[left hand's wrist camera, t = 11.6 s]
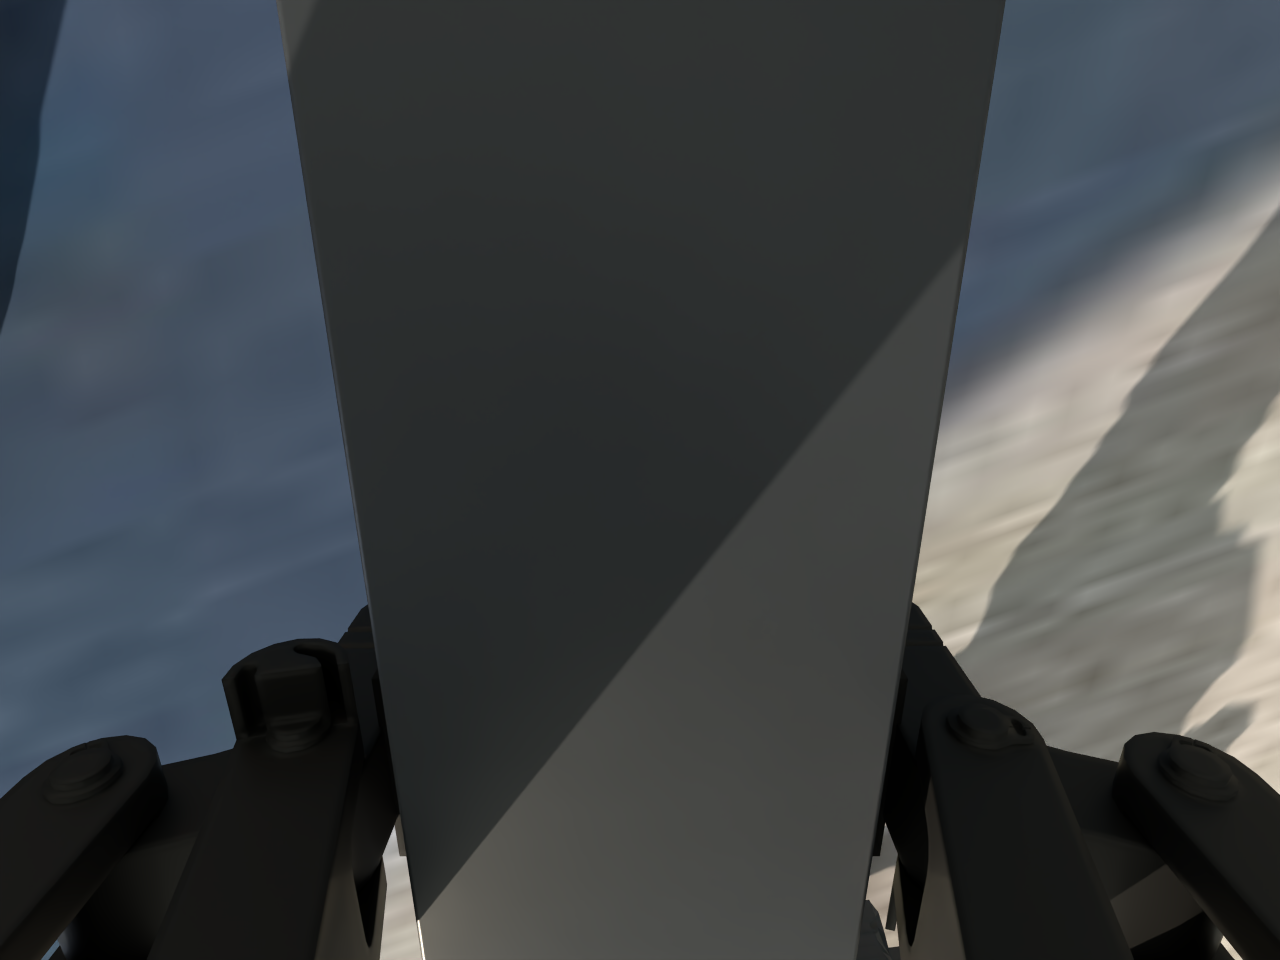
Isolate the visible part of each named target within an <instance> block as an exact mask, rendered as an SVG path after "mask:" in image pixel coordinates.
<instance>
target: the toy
mask: <svg viewBox="0 0 1280 960" xmlns="http://www.w3.org/2000/svg"><path fill="white" fill-rule="evenodd" d="M856 960H901V958H900V948H899V947H891V948H888V945H887V941H886V937H885V933H884V930H883V926H882V923H881V920H880V916H879V913H878V911H877V910H876V909H875V908H874V906H873V905H872V904H871V903H870V901H869V900H865V906H864V913H863V919H862V926H861V932H860V938H859V945H858V951H857V958H856Z"/></svg>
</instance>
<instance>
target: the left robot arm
mask: <svg viewBox="0 0 1280 960" xmlns="http://www.w3.org/2000/svg"><path fill="white" fill-rule="evenodd" d="M222 683H223V687H224V691H225V695H226V699H227V703H228V707H229V711H230V715H231V719H232V723H233V727H234V731H235V735H236V739H237V740H236V743H235V745H234V748H233V749H230V750H227V751H223V752H220V753H216V754H212V755H207V756H203V757H198V758H194V759H189V760H184V761H180V762H175V763H171V764H166V765H161V762H160V759H159V756H158V752H157V749H156V747H155V746H154V745H153V744H151V743H150V742H149V741H148V740H147V739H145V738H140V737H134V736H128V735H124V736H116V737H107V738H100V739H97V740H93V741H89V742H88V743H83V744H80V745H77V746H75V747H72V748H70V749H68V750H66V751H64V752H62V753H60V754H58V755H56V756H54V757H52V758H50V759H48V760H46V761H45V762H44V763H42V764H41V765H40V766H38V767H37V768H36V769H34V770H33V771H32V772H30V773H29V774H27V775H26V776H25V777H23V778H22V779H21V780H20V781H19V782H18V783H17V784H16V785H15V786H14V787H13V788H11V789H10V790H9V791H8V792H7V793H6V794H5V795H4V796H3V797H2V798H1V799H0V960H41V959H42V957H43V956H44V955H45V954H46V952H47V951H48V950H49V949H50V947H51V946H52V945H53V944H54V942H55V941H56V940H57V939H58V942H59V944H60V946H59V947H58V948H57V950H56V951H55V952H54V953H53V955H52V956H51V957H50V959H49V960H380V950H381V940H382V930H383V920H384V910H385V900H386V890H387V881H386V875H385V868H384V862H383V857H382V855H383V853H384V850H385V848H386V845H387V843H388V840H389V838H390V835H391V833H392V830H393V827H394V825H395V830H396V836H397V842H398V848H399V854H400V856H406V850H405V843H404V837H403V830H402V824H401V817H400V811H399V804H398V797H397V791H396V784H395V778H394V771H393V765H392V758H391V751H390V745H389V738H388V732H387V725H386V719H385V712H384V705H383V699H382V692H381V686H380V679H379V673H378V666H377V659H376V653H375V646H374V640H373V633H372V627H371V620H370V613H369V607H368V605H366V606H365V607H363V608H362V609H361V610H360V612H359V613H358V615H357V616H356V617H355V619H354V620H353V622H352V623H351V625H350V626H349V628H348V632H345V633H344V635H343V636H342V638H341V639H340V641H339V642H338V643H336V642H332V641H328V640H324V639H320V638H315V639H295V640H290V641H286V642H281V643H277V644H273V645H271V646H268V647H266V648H263V649H261V650H258V651H256V652H253V653H251V654H250V655H248V656H247V657H245V658H244V659H242V660H241V661H239V662H238V663H236V664H235V665H233V666H232V668H231V669H230V670H229V671H228V672H227V674H226V675H225V676H224V677H223V679H222ZM885 823H886V825H887V828H888V830H889V833H890V835H891V838H892V840H893V843H894V845H895V848H896V850H897V853H898V857H897V862H896V868H895V874H894V880H893V886H892V891H891V897H890V903H889V909H888V915H887V921H886V928H885V929H888V930H893V931H895V927H896V922H897V928H898V938H899V948H900V958H901V960H1235V959H1234V958H1233V957H1232V956H1231V955H1230V954H1229V952H1228V951H1227V950H1226V949H1225V947H1224V946H1223V945H1222V944H1221V940H1222V938H1223V935H1224V937H1225V938H1226V939H1227V940H1228V942H1229V943H1230V944H1231V945H1232V947H1233V948H1234V949H1235V950H1236V952H1237V953H1238V954H1239V955H1240V957H1241V958H1242V959H1243V960H1280V795H1279V794H1278V793H1277V792H1276V791H1275V790H1274V789H1273V788H1272V787H1271V786H1270V785H1268V784H1267V783H1266V782H1265V781H1264V780H1263V779H1262V778H1261V777H1260V776H1259V775H1258V774H1256V773H1255V772H1254V771H1252V770H1251V769H1249V768H1248V767H1247V766H1245V765H1244V764H1243V763H1241V762H1240V761H1239V760H1237V759H1236V758H1235V757H1233V756H1231V755H1229V754H1227V753H1225V752H1223V751H1221V750H1219V749H1217V748H1215V747H1212V746H1211V745H1209V744H1207V743H1204V742H1201V741H1198V740H1193V739H1192V738H1188V737H1184V736H1181V735H1175V734H1166V733H1158V732H1152V733H1145V734H1139V735H1135V736H1134V737H1132V738H1131V739H1130V740H1129V741H1127V742H1126V743H1125V744H1124V747H1123V750H1122V754H1121V757H1120V760H1119V762H1114V761H1110V760H1105V759H1100V758H1096V757H1091V756H1086V755H1082V754H1077V753H1073V752H1068V751H1064V750H1060V749H1057V748H1053V747H1050V746H1046V744H1045V741H1044V739H1043V738H1042V736H1041V735H1040V733H1039V732H1038V730H1037V729H1036V728H1035V726H1034V725H1033V724H1032V723H1031V722H1030V721H1028V720H1027V719H1026V718H1025V717H1023V716H1022V715H1021V714H1019V713H1018V712H1017V711H1015V710H1013V709H1011V708H1009V707H1007V706H1005V705H1003V704H1001V703H998V702H996V701H994V700H990V699H986V698H982V697H981V696H980V694H979V693H978V692H977V690H976V689H975V687H974V686H973V684H972V683H971V682H970V680H969V679H968V677H967V676H966V674H965V673H964V671H963V670H962V669H961V667H960V666H959V664H958V663H957V661H956V660H955V658H954V657H953V656H952V654H951V653H950V651H949V650H948V648H947V647H946V646H943V641H942V640H941V638H940V637H939V635H938V634H937V632H936V631H935V630H932V625H931V624H930V622H929V621H928V620H927V618H926V617H925V615H924V614H923V612H922V611H921V609H920V608H919V607H918V606H917V605H916V604H914V603H913V602H912V604H911V611H910V617H909V624H908V630H907V637H906V643H905V649H904V656H903V662H902V669H901V675H900V682H899V688H898V694H897V701H896V707H895V714H894V720H893V726H892V733H891V739H890V746H889V752H888V759H887V765H886V771H885V778H884V784H883V791H882V797H881V804H880V810H879V816H878V823H877V829H876V836H875V842H874V849H873V855H872V856H880V852H881V845H882V839H883V833H884V827H885Z"/></svg>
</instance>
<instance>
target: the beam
mask: <svg viewBox="0 0 1280 960" xmlns="http://www.w3.org/2000/svg"><path fill="white" fill-rule="evenodd" d="M1005 1H1006V0H276V2H277V9H278V16H279V22H280V29H281V35H282V42H283V48H284V55H285V62H286V68H287V75H288V81H289V88H290V94H291V101H292V107H293V114H294V121H295V127H296V134H297V140H298V147H299V154H300V160H301V167H302V173H303V180H304V186H305V193H306V199H307V206H308V213H309V219H310V226H311V232H312V239H313V245H314V252H315V259H316V265H317V272H318V278H319V285H320V291H321V298H322V305H323V311H324V318H325V324H326V331H327V337H328V344H329V351H330V357H331V364H332V370H333V377H334V383H335V390H336V397H337V403H338V410H339V416H340V423H341V429H342V436H343V443H344V449H345V456H346V462H347V469H348V475H349V482H350V489H351V495H352V502H353V508H354V515H355V521H356V528H357V535H358V541H359V548H360V554H361V561H362V567H363V574H364V581H365V587H366V594H367V600H368V607H369V613H370V620H371V627H372V633H373V640H374V646H375V653H376V659H377V666H378V673H379V679H380V686H381V692H382V699H383V705H384V712H385V719H386V725H387V732H388V738H389V745H390V751H391V758H392V765H393V771H394V778H395V784H396V791H397V797H398V804H399V811H400V817H401V824H402V830H403V837H404V843H405V850H406V857H407V863H408V870H409V876H410V883H411V889H412V896H413V903H414V909H415V916H416V922H417V929H418V935H419V942H420V949H421V955H422V960H856V958H857V951H858V945H859V938H860V932H861V926H862V919H863V913H864V906H865V900H866V894H867V887H868V881H869V874H870V868H871V861H872V855H873V849H874V842H875V836H876V829H877V823H878V816H879V810H880V804H881V797H882V791H883V784H884V778H885V771H886V765H887V759H888V752H889V746H890V739H891V733H892V726H893V720H894V714H895V707H896V701H897V694H898V688H899V682H900V675H901V669H902V662H903V656H904V649H905V643H906V637H907V630H908V624H909V617H910V611H911V604H912V598H913V592H914V585H915V579H916V572H917V566H918V559H919V553H920V547H921V540H922V534H923V527H924V521H925V514H926V508H927V502H928V495H929V489H930V482H931V476H932V470H933V463H934V457H935V450H936V444H937V437H938V431H939V425H940V418H941V412H942V405H943V399H944V392H945V386H946V380H947V373H948V367H949V360H950V354H951V347H952V341H953V335H954V328H955V322H956V315H957V309H958V302H959V296H960V290H961V283H962V277H963V270H964V264H965V258H966V251H967V245H968V238H969V232H970V225H971V219H972V213H973V206H974V200H975V193H976V187H977V180H978V174H979V168H980V161H981V155H982V148H983V142H984V135H985V129H986V123H987V116H988V110H989V103H990V97H991V90H992V84H993V78H994V71H995V65H996V58H997V52H998V46H999V39H1000V33H1001V26H1002V20H1003V13H1004V7H1005Z"/></svg>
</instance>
